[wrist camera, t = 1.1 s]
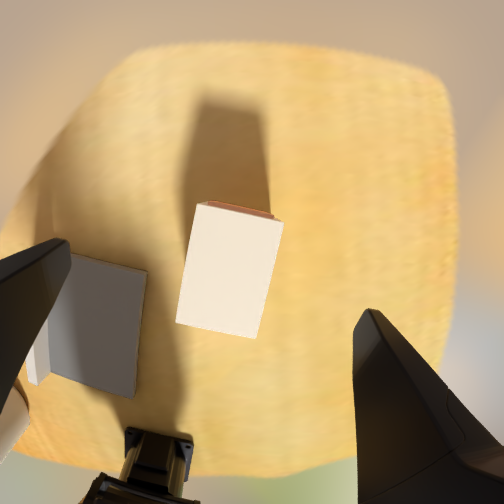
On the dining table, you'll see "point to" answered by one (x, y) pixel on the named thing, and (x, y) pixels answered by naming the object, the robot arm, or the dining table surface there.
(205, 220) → the carton
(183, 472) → the robot arm
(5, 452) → the can
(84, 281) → the grey drawer
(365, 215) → the dining table surface
